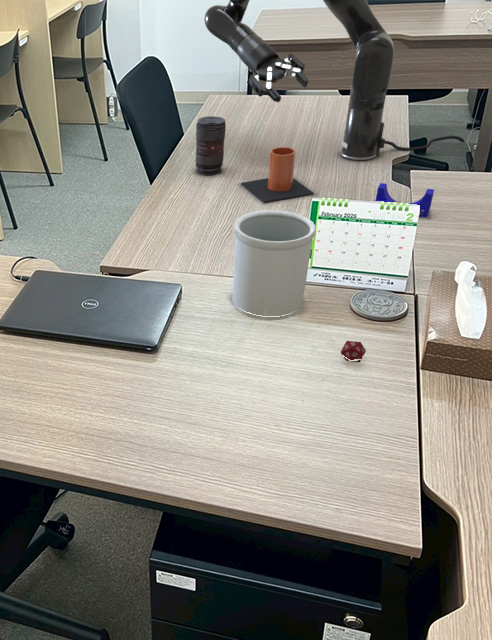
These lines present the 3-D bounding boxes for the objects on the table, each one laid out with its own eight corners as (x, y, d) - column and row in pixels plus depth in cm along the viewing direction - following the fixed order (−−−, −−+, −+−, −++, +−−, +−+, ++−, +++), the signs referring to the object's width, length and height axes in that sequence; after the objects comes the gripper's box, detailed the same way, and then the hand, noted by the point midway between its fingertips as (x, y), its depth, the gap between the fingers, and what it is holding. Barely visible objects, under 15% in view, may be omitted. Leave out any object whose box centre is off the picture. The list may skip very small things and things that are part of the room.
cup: (285, 181, 194) (288, 145, 188) (296, 189, 188) (300, 153, 183) (263, 184, 193) (266, 149, 187) (273, 193, 188) (277, 156, 182)
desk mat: (288, 176, 197) (288, 174, 197) (313, 194, 186) (313, 192, 186) (241, 184, 196) (241, 182, 195) (263, 203, 184) (264, 201, 184)
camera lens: (225, 174, 202) (228, 123, 194) (197, 177, 203) (198, 125, 194) (220, 164, 209) (223, 114, 201) (193, 167, 209) (194, 116, 201)
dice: (335, 355, 128) (338, 337, 126) (360, 353, 128) (364, 335, 126) (342, 367, 125) (345, 349, 123) (368, 366, 125) (371, 347, 122)
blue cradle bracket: (372, 212, 174) (376, 189, 171) (376, 205, 177) (380, 183, 174) (425, 220, 168) (431, 196, 165) (429, 212, 171) (434, 189, 168)
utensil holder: (254, 277, 153) (261, 202, 144) (318, 298, 144) (330, 220, 134) (215, 306, 145) (219, 229, 136) (280, 330, 136) (289, 249, 126)
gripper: (236, 56, 191) (272, 95, 184) (280, 32, 192) (318, 69, 185) (233, 76, 198) (268, 114, 191) (276, 52, 199) (312, 89, 192)
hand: (293, 92), depth 188 cm, fingers open, 8 cm apart
